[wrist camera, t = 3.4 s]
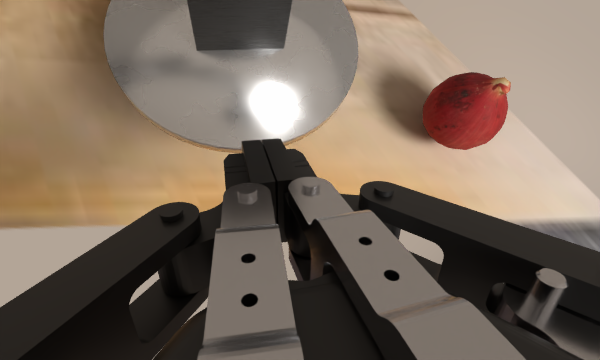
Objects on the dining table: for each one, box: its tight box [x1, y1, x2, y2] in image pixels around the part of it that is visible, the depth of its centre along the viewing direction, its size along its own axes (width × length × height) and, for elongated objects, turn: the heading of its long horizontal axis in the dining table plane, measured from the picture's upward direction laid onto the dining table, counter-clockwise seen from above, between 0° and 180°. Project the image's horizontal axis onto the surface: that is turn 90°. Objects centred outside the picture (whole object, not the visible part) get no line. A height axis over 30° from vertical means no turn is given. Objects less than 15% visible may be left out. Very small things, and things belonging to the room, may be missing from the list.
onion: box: [423, 72, 511, 150], centre depth 26 cm, size 6×6×8 cm
